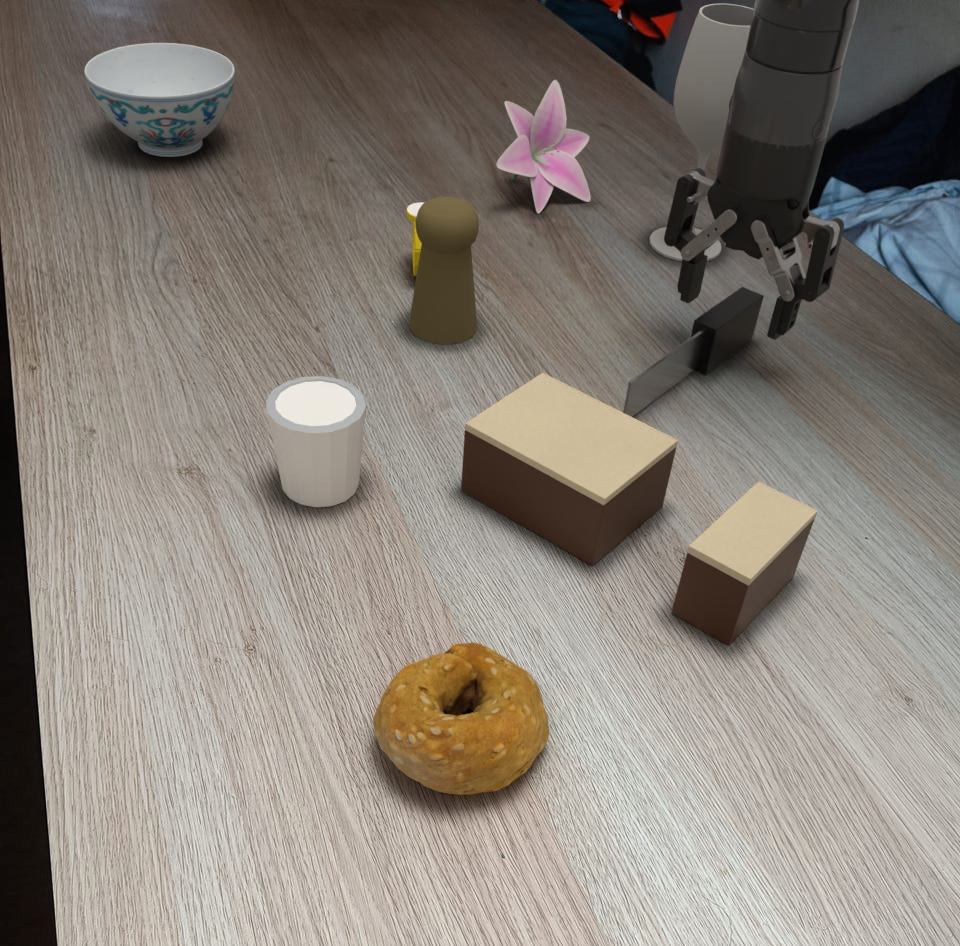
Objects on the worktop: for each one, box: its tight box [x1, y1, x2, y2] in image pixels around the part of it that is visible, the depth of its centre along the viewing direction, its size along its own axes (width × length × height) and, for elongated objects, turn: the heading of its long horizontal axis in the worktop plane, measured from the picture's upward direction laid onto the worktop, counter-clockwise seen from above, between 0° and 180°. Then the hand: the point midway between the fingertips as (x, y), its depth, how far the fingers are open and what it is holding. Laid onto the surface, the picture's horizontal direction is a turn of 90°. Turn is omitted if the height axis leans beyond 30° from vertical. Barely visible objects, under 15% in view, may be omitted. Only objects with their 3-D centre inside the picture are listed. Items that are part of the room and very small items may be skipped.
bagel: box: [372, 642, 550, 796], centre depth 64 cm, size 10×11×5 cm
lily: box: [495, 79, 592, 214], centre depth 114 cm, size 12×12×10 cm
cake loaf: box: [460, 372, 679, 566], centre depth 79 cm, size 9×12×6 cm
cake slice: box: [671, 481, 818, 646], centre depth 73 cm, size 9×4×6 cm, turn 141°
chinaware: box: [84, 42, 236, 158], centre depth 116 cm, size 15×15×8 cm
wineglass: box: [648, 3, 754, 262], centre depth 103 cm, size 8×8×21 cm
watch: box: [405, 201, 425, 278], centre depth 101 cm, size 6×3×6 cm, turn 4°
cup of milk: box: [265, 375, 367, 508], centre depth 78 cm, size 7×7×7 cm
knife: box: [623, 286, 765, 417], centre depth 92 cm, size 19×2×4 cm, turn 141°
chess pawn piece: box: [408, 196, 480, 345], centre depth 93 cm, size 6×6×11 cm
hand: (731, 316), depth 94 cm, fingers open, 8 cm apart
